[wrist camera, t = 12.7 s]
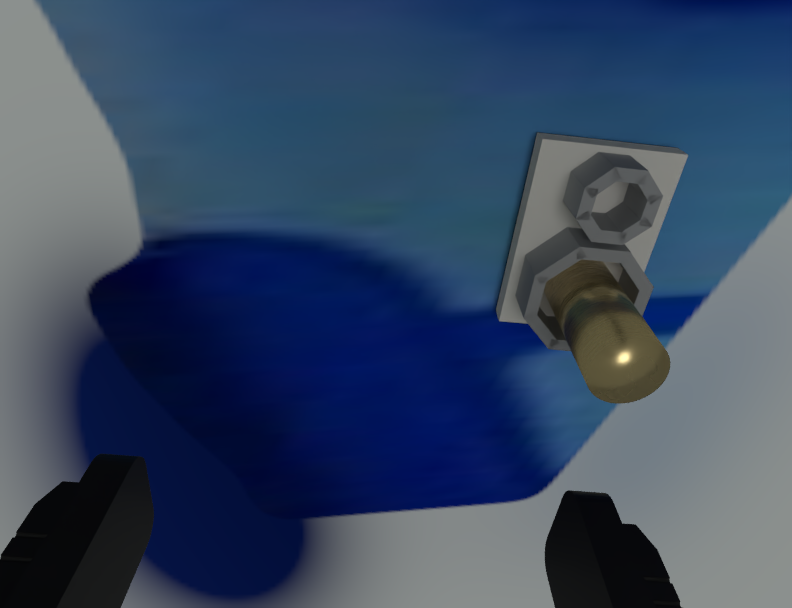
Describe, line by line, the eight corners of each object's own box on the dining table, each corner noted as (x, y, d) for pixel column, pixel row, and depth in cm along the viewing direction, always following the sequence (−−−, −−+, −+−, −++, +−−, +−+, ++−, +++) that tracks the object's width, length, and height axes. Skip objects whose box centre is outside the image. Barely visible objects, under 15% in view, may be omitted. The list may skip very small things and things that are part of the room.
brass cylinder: (552, 248, 37) (600, 334, 29) (616, 255, 38) (683, 342, 29) (535, 304, 40) (576, 399, 31) (596, 310, 40) (652, 406, 31)
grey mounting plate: (537, 132, 35) (554, 153, 31) (677, 147, 36) (712, 170, 32) (495, 310, 42) (506, 345, 38) (614, 321, 42) (636, 357, 38)
